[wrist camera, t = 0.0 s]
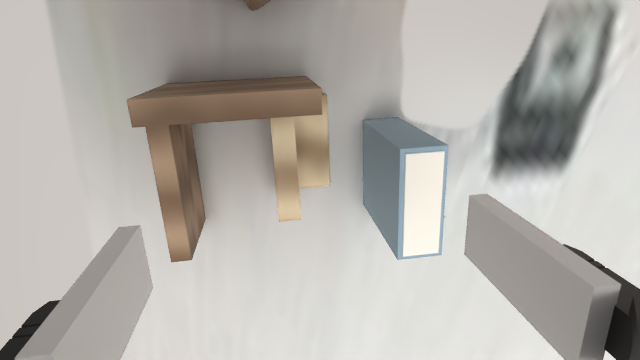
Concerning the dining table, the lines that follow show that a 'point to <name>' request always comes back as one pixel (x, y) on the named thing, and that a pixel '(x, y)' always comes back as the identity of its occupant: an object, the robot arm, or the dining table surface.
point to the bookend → (299, 158)
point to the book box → (405, 186)
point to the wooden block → (255, 3)
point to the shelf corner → (178, 146)
